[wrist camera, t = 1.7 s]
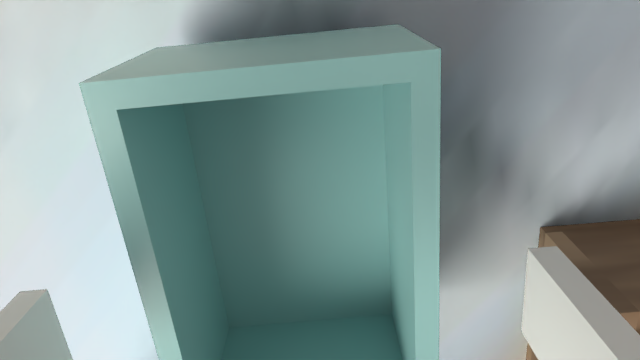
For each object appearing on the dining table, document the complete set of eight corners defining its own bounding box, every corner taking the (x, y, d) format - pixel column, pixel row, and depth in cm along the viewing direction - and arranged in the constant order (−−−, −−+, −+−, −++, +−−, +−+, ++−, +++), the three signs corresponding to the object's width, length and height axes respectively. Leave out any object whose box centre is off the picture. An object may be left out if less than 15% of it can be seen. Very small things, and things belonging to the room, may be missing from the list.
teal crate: (166, 43, 18) (79, 83, 11) (392, 21, 18) (440, 48, 11) (223, 313, 23) (186, 453, 16) (401, 298, 22) (438, 433, 16)
